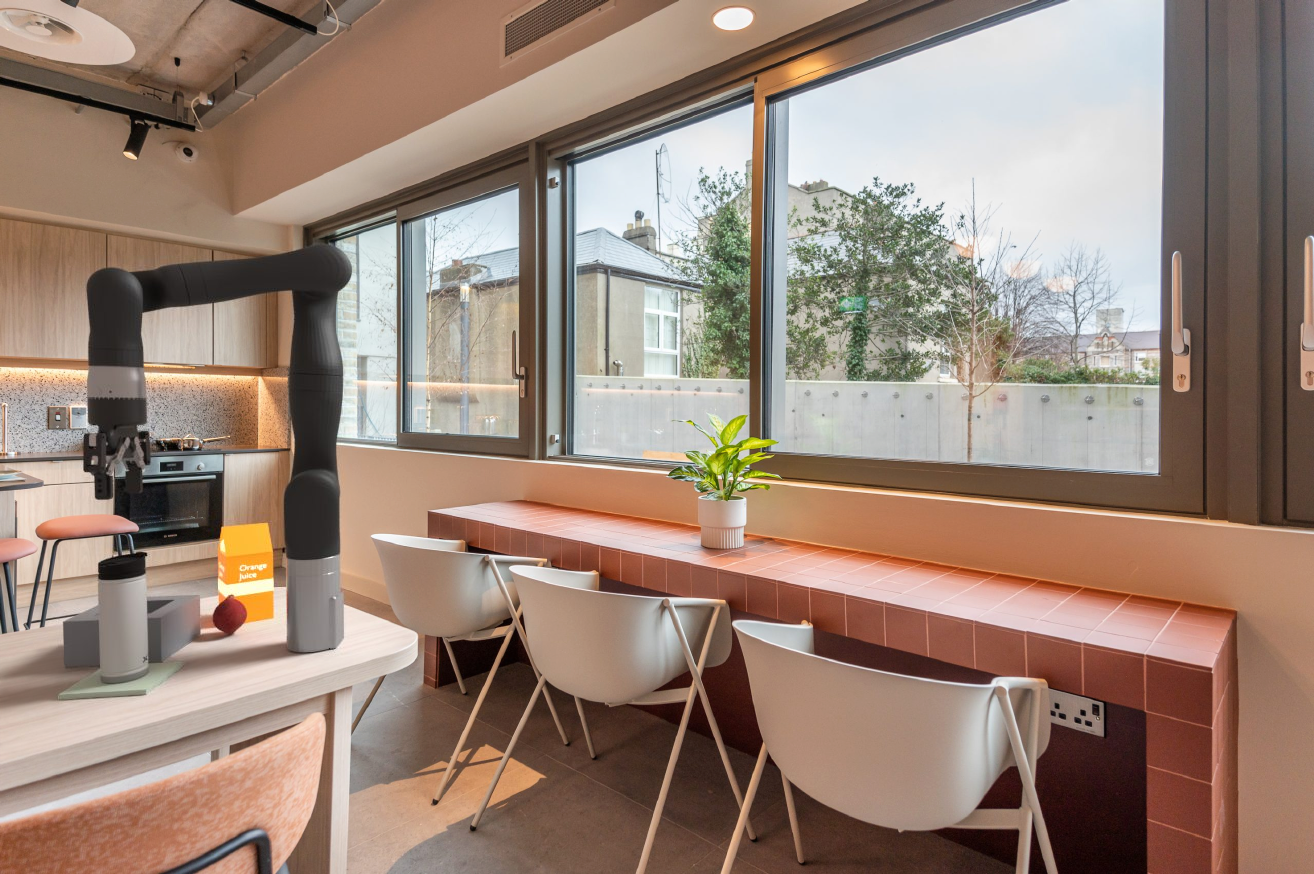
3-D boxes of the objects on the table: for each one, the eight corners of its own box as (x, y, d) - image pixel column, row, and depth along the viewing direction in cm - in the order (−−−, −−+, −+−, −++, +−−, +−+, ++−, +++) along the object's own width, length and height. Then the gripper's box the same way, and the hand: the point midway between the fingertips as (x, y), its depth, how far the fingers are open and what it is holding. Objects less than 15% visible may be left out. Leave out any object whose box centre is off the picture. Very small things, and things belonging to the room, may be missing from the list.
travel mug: (159, 672, 115) (156, 553, 114) (114, 686, 109) (111, 561, 108) (136, 666, 118) (134, 549, 117) (91, 680, 112) (88, 557, 111)
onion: (230, 640, 134) (230, 599, 133) (205, 637, 135) (204, 597, 135) (254, 630, 139) (253, 591, 139) (229, 628, 141) (228, 589, 140)
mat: (183, 666, 120) (183, 661, 120) (146, 694, 109) (146, 689, 109) (104, 670, 118) (104, 665, 118) (58, 699, 106) (58, 694, 106)
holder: (200, 634, 137) (199, 594, 136) (161, 662, 122) (160, 617, 122) (114, 638, 134) (113, 597, 133) (64, 667, 119) (63, 621, 119)
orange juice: (218, 617, 148) (217, 524, 147) (264, 609, 154) (263, 520, 153) (226, 626, 142) (225, 529, 141) (274, 618, 148) (273, 525, 147)
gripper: (118, 395, 105) (121, 501, 106) (165, 396, 119) (168, 490, 120) (61, 394, 104) (64, 502, 104) (116, 396, 118) (118, 491, 118)
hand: (119, 496), depth 112 cm, fingers open, 8 cm apart
